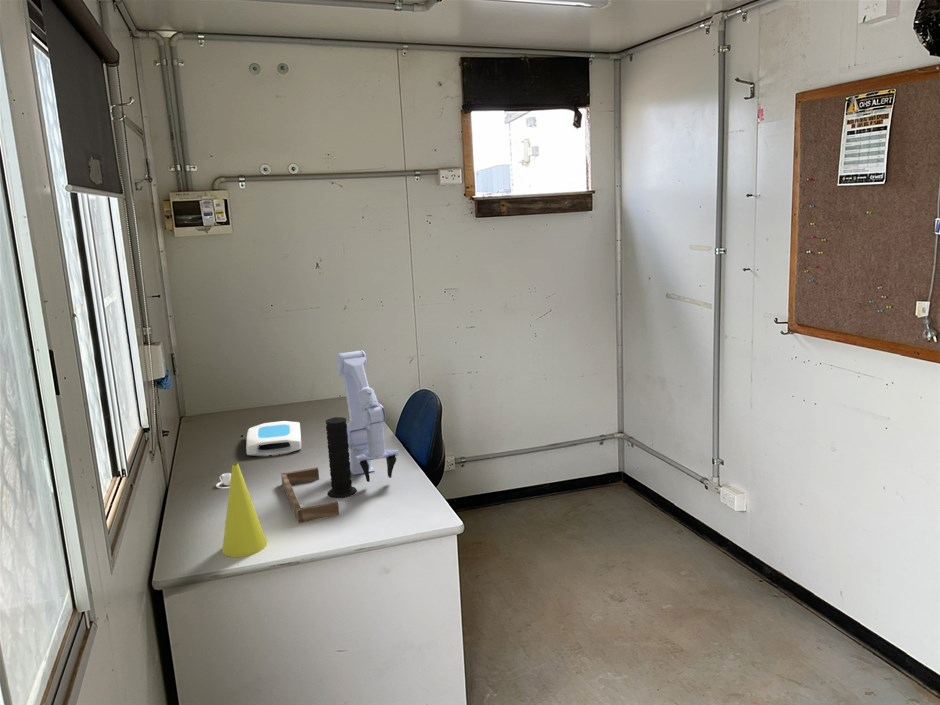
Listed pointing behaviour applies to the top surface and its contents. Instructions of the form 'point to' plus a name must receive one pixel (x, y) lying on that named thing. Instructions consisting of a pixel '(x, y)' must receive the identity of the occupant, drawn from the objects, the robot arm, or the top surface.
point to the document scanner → (273, 437)
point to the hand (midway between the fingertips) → (378, 478)
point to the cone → (241, 520)
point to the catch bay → (299, 512)
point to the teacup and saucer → (225, 480)
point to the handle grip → (339, 458)
